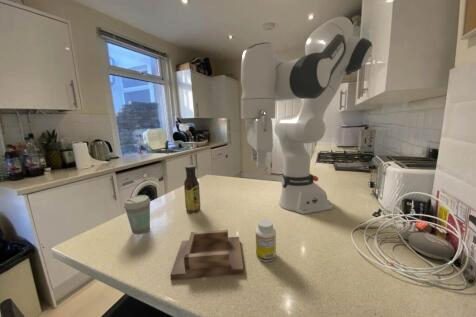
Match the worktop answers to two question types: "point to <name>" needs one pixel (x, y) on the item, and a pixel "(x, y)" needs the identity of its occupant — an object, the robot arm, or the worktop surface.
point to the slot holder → (208, 256)
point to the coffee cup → (138, 213)
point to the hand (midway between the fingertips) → (257, 163)
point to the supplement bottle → (265, 241)
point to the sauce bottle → (191, 191)
